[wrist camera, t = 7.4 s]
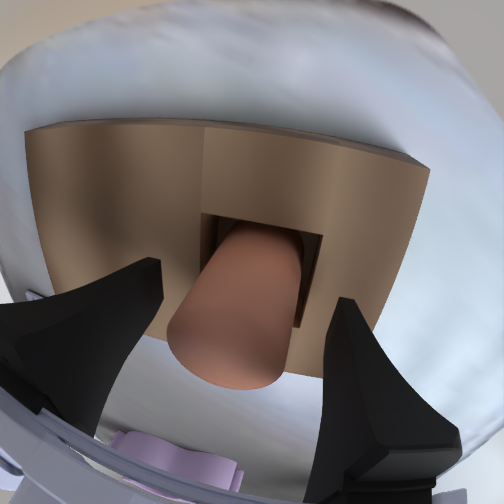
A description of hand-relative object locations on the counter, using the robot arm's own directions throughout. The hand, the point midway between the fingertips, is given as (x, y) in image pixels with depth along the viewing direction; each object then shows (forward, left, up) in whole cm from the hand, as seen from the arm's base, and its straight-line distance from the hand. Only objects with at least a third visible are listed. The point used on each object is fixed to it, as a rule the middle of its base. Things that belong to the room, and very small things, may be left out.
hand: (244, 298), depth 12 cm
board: (-4, 0, -5) cm, 6 cm away
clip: (-8, -38, -5) cm, 39 cm away
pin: (0, 0, -4) cm, 4 cm away
